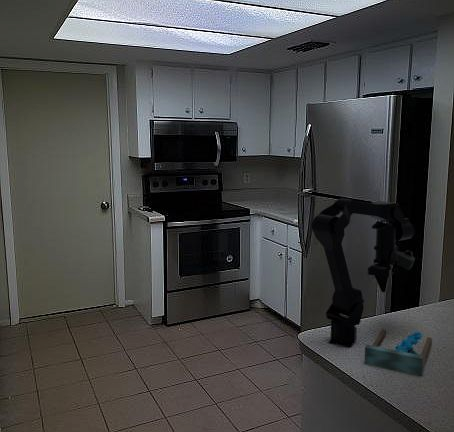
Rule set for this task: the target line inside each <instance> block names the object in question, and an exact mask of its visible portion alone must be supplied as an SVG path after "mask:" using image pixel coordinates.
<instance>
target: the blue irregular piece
mask: <svg viewBox="0 0 454 432" xmlns="http://www.w3.org/2000/svg"><path fill="white" fill-rule="evenodd" d="M422 338H423V335H422V332H421V331H418V332H417V331H415V332H413V334H409V335H408V336H407V337H406V339H403V340H401V341H400V345H399V344H397V345H395V347H394V349H395V350H397V351H402V352H407V353H412V354H417V355H419V354H418V353H417V352H416V351H415V350H414V347H413V345H414V346H416V345H418V344H419V341H420V340H421V339H422Z"/></svg>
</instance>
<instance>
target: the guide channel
mask: <svg viewBox="0 0 454 432" xmlns="http://www.w3.org/2000/svg"><path fill="white" fill-rule="evenodd" d="M386 336H387V329H386V328H385V329H381V330H380V331H379V333H378V335H377V336H376V338H375V339H374V341H373V343H372V344H366V345H365V346H364V361H363V362H364V364H366V365H370V366H373V365H374V367H378V368H382V369H386V370H387V369H388V370H392V369H393V371H396V370H398V371H397V372H401V371H402V373H406V374H410V375H411V374H412V375H416V376H419V377H422V375H423V372H424V369H425V365H426V362H427V359H428V357H429V353H430V351H431V347H432V342H433V338H432V337H429V336H428V337H426V340H425V342H424V346H423V347H422V351H421V353H420V354H418V353H417V354H418V355H417V354H412V353H407V351H406V352H402V351H397V350H396V349H391V348H387V347H382V346H381V345H382V344H383V342H384V340H385V338H386ZM381 343H382V344H381Z"/></svg>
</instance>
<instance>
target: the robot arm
mask: <svg viewBox="0 0 454 432" xmlns="http://www.w3.org/2000/svg"><path fill="white" fill-rule="evenodd" d="M340 213H341V215H340ZM353 214H354V215H355V214H356V215H357V214H358V215H363V216H369V217H370V218H372V219H375V220H376V221H375V223H373V224H372V226H371V229H373V230H375V245H374V246H373V250H375V255H374V259H373V263H372V264H371V265H369V267H368V268H367V275H369V276H374V277H375V280H376V282H377V284H378V287H379V289H380V291H381V293H386V291H387V288H388V284H389V281H390V278H391V276H392V275H393V274H394V273H395V271H396V270H397V268H393V266H394V265H396V266H399V267H401V268H404V270H407V271H409V270H411V268H412V267H413V265H414V262H415V260H416V257H415V256H413V251H411V250H409V249H407V250H406V251H405V252H403V251H400V250H398V246H397V245H396V242H399V241H406V240H409V239H412V238H413V237H414V235H415V228H414V225H413V224H412V223H411V222H410V218H407V217H405V216H404V214H403V211H402V209H401V208H400V204H398V203H397V202H391V201H378V200H377V201H373V202H366V201H365V202H364V201H359V200H358V201H357V200H354V199H349V198H338V199H336V200H335V201H334V203H332V204H330V205H329V206H327V207H326V208H324V209H322V210H321V211H320V212H319V213H318V214H317V215H316V216H315V217H314V218H313V220H312V222H311V230H312V232H313V235H314V237H315V239H316V240H317V241H318V242H319V243H320V244H321V245H322V247H323V250H324V253H325V257H326V260H327V265H328V268H329V272H330V277H331V280H332V283H333V287H334V292H333V293H332V297H331V300H332V302H331V304H330V306H328V309H327V310H326V312H325V315H326V319H327V320H330V339H329V340H328V343H329V344H332V345H336V346H340V347H341V346H342V347H345V348H346V347H347V348H351V347H352V346H353V345H354V344H355V343H356V341H357V329H358V327H356V326H359V325H360V323H361V319H362V316H363V311H364V309H365V307H364V303H365V300H364V299H363V294H362V290H361V289H359V288H358V289H357V288H356V287H353V285H352V280H351V277H350V272H349V269H348V265H347V261H346V256H345V252H344V248H343V245H342V244H343V240H344V238H345V234H346V233H345V229H346V228H348V226H349V225H350V222H351V221H350V220H351V218H352V217H351V216H352V215H353ZM338 215H340V216H338Z"/></svg>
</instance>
